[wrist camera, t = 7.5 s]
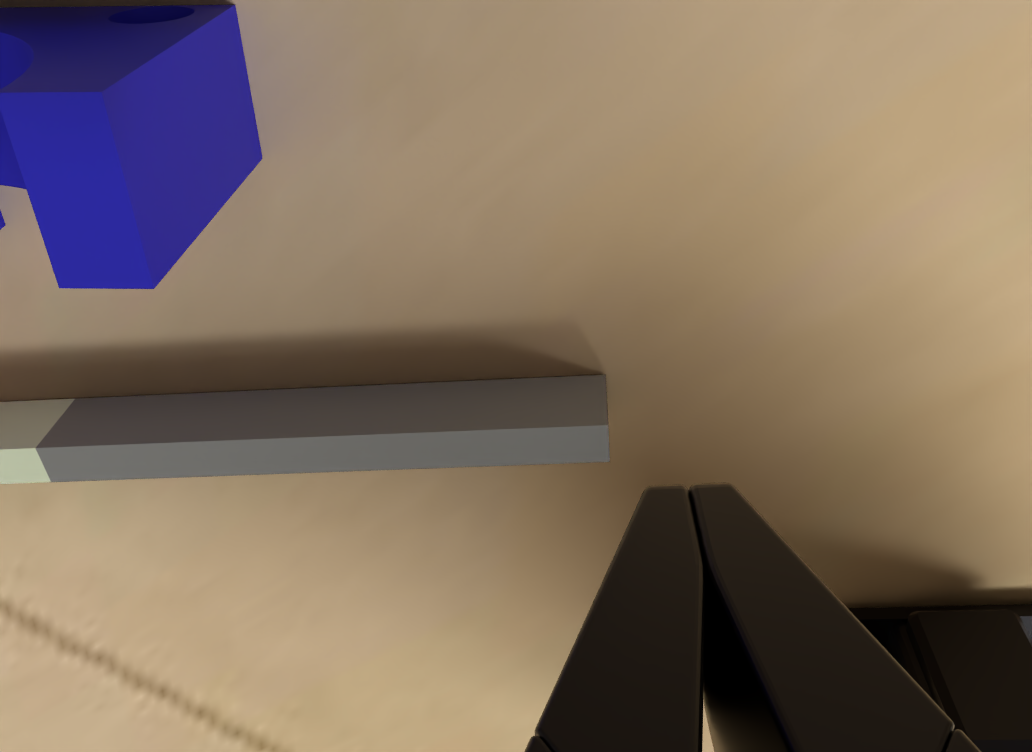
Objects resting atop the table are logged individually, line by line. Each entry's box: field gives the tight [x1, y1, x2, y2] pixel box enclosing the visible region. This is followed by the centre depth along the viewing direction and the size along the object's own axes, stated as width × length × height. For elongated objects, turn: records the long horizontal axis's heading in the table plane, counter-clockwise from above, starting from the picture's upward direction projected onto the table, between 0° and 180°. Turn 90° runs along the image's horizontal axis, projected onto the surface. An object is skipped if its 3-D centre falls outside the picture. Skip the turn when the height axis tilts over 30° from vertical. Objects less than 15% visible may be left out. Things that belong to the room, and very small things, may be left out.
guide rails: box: [0, 375, 610, 484], centre depth 18 cm, size 12×21×3 cm, turn 95°
